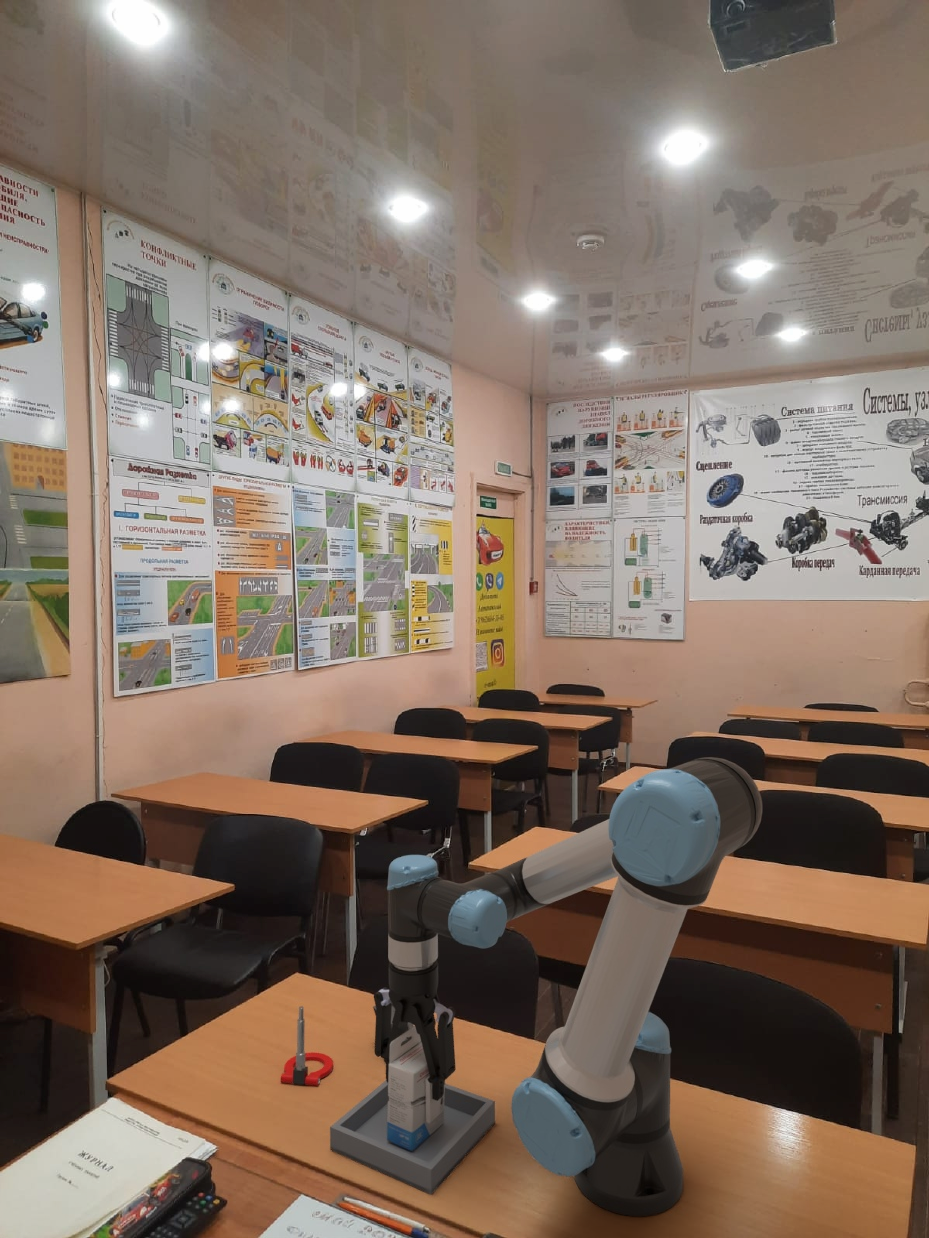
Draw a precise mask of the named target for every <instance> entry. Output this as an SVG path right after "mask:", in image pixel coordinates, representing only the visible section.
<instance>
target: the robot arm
mask: <svg viewBox="0 0 929 1238" xmlns="http://www.w3.org/2000/svg"><path fill="white" fill-rule="evenodd" d="M762 816H763V800H762V796H761V793H760V790H759V787H758V786H757V783H756V782H755V780H754V779H753V778H752V776H750V774H748V772H747V770H745V769H744V768H742V767H740V766H739V765H738V764H737V763H734V762H732V761H729V760H727V759H725V758H719V757H712V756H710V757H700V758H695V759H693V760H689V761H687V762H684V763H682V764H679V765H676V766H674V767H673V766H672V767H670V768H666V769H665V768H664V769H659V770H654V771H652V772H648V773H646V774H644V775H643V776H641V777H640V778H638V779H637V780H635V781H633V782H632V783H630V784H629V785H628V786H627V787H625V788H624V789H623V790H622V791H621V792H620V794H619V795H618V796H617V797H616V800H615V801H614V803H613V805H612V808H611V810H610V814H609V818H608V819H606V820H604V821H602V822H600V823H597V824H595V825H593V826H591V827H589V828H587V829H584V830H583V831H580V832H578V833H576V834H573V835H572V836H569V837H567V838H565V839H563V840H561V841H558V842H556V843H555V844H552V845H550V846H548V847H545V848H544V849H541V850H539V851H537V852H535V853H533V854H531V855H529V856H527V857H524V858H522V859H520V860H517V861H516V862H512V863H511V864H509V865H506V866H504V867H501V868H499V869H497V870H495V871H492V872H491V873H490V872H489V873H487V874H484V875H482V876H479V877H477V878H474V879H472V880H469V881H467V882H463V883H457V882H454V881H451V880H447V879H444V878H443V877H439V876H438V875H439V873H440V872H439V871H438V869H439V868H438V862H437V860H435V859H434V858H433V857H430V855H429V856H428V855H424V854H423V855H422V854H407V855H402V856H401V857H400V856H399V857H397V858H395V859H393V861H391V862H390V864H389V866H388V873H387V874H388V875H387V876H388V877H387V887H386V890H387V913H388V915H387V917H388V922H387V923H388V933H387V935H388V936H387V937H388V941H387V942H388V943H387V945H388V950H387V951H388V961H389V963H388V987H389V988H388V987H386V986H385V987H383V988H381V989H379V990H378V991H377V992H375V993H374V994H373V999H374V1000H373V1001H374V1006H375V1005H376V1015H375V1029H374V1031H375V1032H374V1033H375V1034H374V1051H373V1052H374V1055H375V1056H376V1057H377V1058H378V1057H381V1058H382V1059H383V1062H384V1064H385V1081H387V1083H388V1072H389V1055H390V1054H389V1053H390V1043H391V1042H392V1041H393V1040H395V1039H396V1038H398V1037H399V1036H400V1035H402V1034H403V1033H405V1032H406V1028H407V1025H408V1023H412V1024H413V1025H414V1026H415V1027H416V1031H417V1033H418V1034H419V1035H420V1038H421V1042H422V1046H423V1050H424V1054H425V1058H426V1062H427V1066H428V1070H429V1074H430V1075H429V1076H428V1077H427V1078H426V1079H425V1085H426V1122H427V1123H429V1124H430V1123H431V1122H432V1121H433V1120H434V1119H435V1118H436V1117H437V1116H438V1115H439V1114H440V1098H441V1097H442V1096H443V1094H444V1080H445V1081H446V1080H447V1079H448V1078H449V1077H450V1076H451V1075H452V1074H454V1073H455V1072H456V1055H455V1053H456V1052H455V1038H454V1037H455V1036H454V1035H455V1034H454V1020H455V1019H454V1018H455V1016H456V1015H455V1014H456V1009H455V1007H453V1006H449V1007H448V1008H447V1007H446V1006H444V1005H443V1004H441V1003H440V998H439V996H438V992H437V990H438V987H439V962H438V960H437V959H438V957H439V942H438V941H439V940H438V939H439V937H438V935H439V936H442V937H444V938H448V939H450V940H453V941H454V942H455V941H456V942H458V943H459V944H460V945H461V944H462V945H464V946H468V947H474V948H479V949H489V948H491V947H493V946H494V945H496V943H497V942H498V939H499V938H501V937H502V936H503V934H504V932H505V930H506V926H507V923H508V922H510V921H513V920H515V919H517V918H519V917H522V916H523V915H526V914H528V913H531V912H533V911H536V910H538V909H540V908H543V907H546V906H548V905H549V904H553V903H555V902H556V901H557V902H558V901H559V900H562V899H565V898H567V897H569V896H572V895H575V894H578V893H579V892H582V891H584V890H588V889H589V888H591V887H594V886H597V885H600V884H602V883H605V882H607V881H609V880H612V879H615V878H617V880H616V883H615V885H614V888H613V891H612V893H611V897H610V899H609V903H608V905H607V908H606V911H605V914H604V917H603V919H602V921H601V925H600V928H599V930H598V932H597V936H596V939H595V941H594V944H593V947H592V950H591V953H590V955H589V958H588V961H587V965H586V966H585V969H584V972H583V975H582V978H581V981H580V984H579V986H578V988H577V989H578V990H577V991H576V994H575V997H574V1000H573V1004H572V1006H571V1008H570V1010H569V1014H568V1017H567V1019H566V1023H565V1025H564V1026H561V1027H558V1028H556V1029H555V1030H553V1031H552V1032H551V1033H550V1034H549V1035H548V1038H547V1040H546V1042H545V1044H544V1048H543V1050H542V1053H541V1057H540V1058H539V1059H540V1060H539V1062H538V1064H537V1067H536V1069H535V1070H534V1072H533V1073H532V1074H531V1076H529V1077H526V1078H524V1079H523V1080H521V1082H520V1084H519V1085H518V1086H517V1087H516V1088H515V1090H514V1092H513V1095H512V1097H511V1104H510V1105H511V1106H510V1107H511V1110H510V1111H511V1117H512V1122H513V1124H514V1128H515V1129H516V1131H517V1134H518V1137H519V1139H520V1141H521V1143H522V1145H523V1146H524V1148H525V1149H526V1151H527V1152H528V1153H529V1154H530V1156H531V1157H532V1158H533V1159H534V1160H535V1161H536V1162H537V1163H538V1164H539V1165H540V1166H541V1167H542V1168H544V1169H545V1170H547V1171H548V1172H550V1173H552V1174H554V1175H557V1176H565V1177H574V1181H575V1183H576V1185H577V1187H578V1189H579V1190H580V1192H581V1193H582V1194H583V1195H584V1196H585V1197H586V1198H587V1199H589V1200H590V1201H591V1202H592V1203H594V1204H595V1205H596V1206H598V1207H600V1208H603V1209H605V1210H607V1211H608V1212H612V1213H615V1214H617V1215H622V1216H630V1217H647V1216H654V1215H658V1214H660V1213H664V1212H665V1211H667V1210H669V1209H671V1208H672V1207H673V1206H674V1205H675V1204H677V1202H679V1199H680V1198H681V1197H682V1195H683V1192H684V1191H683V1190H684V1170H683V1164H682V1163H683V1162H682V1160H681V1156H680V1153H679V1150H678V1148H677V1145H676V1142H675V1138H674V1136H673V1133H672V1130H671V1117H670V1116H671V1053H672V1047H671V1044H670V1041H671V1040H670V1031H669V1028H668V1026H667V1025H666V1023H665V1022H664V1021H663V1020H662V1019H661V1018H660V1017H659V1016H657V1015H656V1014H654V1013H652V1012H651V1011H650V1008H651V1005H652V1003H653V1000H654V999H655V998H654V997H655V995H656V992H657V990H658V988H659V985H660V982H661V979H662V977H663V974H664V972H665V968H666V966H667V963H668V961H669V958H670V956H671V954H672V951H673V948H674V946H675V942H676V941H677V937H678V935H679V932H680V930H681V927H682V925H683V922H684V920H685V917H686V914H687V912H688V910H689V909H693V908H697V907H699V906H701V905H703V904H704V903H706V901H707V898H708V896H709V895H710V892H711V889H712V886H713V884H714V881H715V878H716V876H717V874H718V871H719V869H720V866H721V864H722V862H723V860H724V858H725V857H727V856H728V855H730V854H732V853H734V852H735V851H737V850H739V849H740V848H741V847H743V846H745V845H746V844H747V843H748V842H750V841H751V839H753V837H754V835H755V834H756V832H757V831H758V828H759V827H760V824H761V821H762ZM391 1002H392V1003H391ZM392 1004H393V1006H394V1008H395V1013H394V1017H393V1021H392V1023H393V1026H392V1030H391V1011H392ZM435 1015H436V1017H435ZM436 1024H437V1027H436ZM436 1028H437V1030H436ZM390 1033H391V1034H390ZM402 1043H403V1042H402ZM402 1043H401V1046H402Z"/></svg>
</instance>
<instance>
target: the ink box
mask: <svg viewBox="0 0 929 1238" xmlns="http://www.w3.org/2000/svg"><path fill="white" fill-rule="evenodd" d="M410 1036H412V1038H411V1040H410V1041H408V1042H407V1043H405V1044H404V1045H402V1046H401V1043H402V1042H403V1041H405V1039H406V1037H408V1038H409V1037H410ZM389 1054H390V1055H389V1072H388V1116H387V1140H388V1141H390V1142H393V1143H395V1144H397V1145H399V1146H401V1147H403V1148H406V1149H408V1150H410V1151H413V1150H414V1149H415V1148H416V1147H417V1146H419V1145H420V1144H421V1143H422V1142H423V1141H424V1140H425V1139H426V1138H428V1137H429V1136H430V1135H431V1134H432V1133H433V1132H434V1131H435V1130H437V1129H438V1128H439V1127H440V1126H441V1125H442V1124H443V1123H444V1098H445V1084H446V1080H444V1094H443V1096H442V1097H441V1098H440V1114H439V1115H438V1116H437V1117H436V1118H435V1119H434V1120H433V1121H432V1122H431V1123H430V1124H429V1123H427V1122H426V1085H425V1079H426V1078H427V1077H428V1076H429V1075H430V1074H429V1070H428V1066H427V1062H426V1058H425V1054H424V1050H423V1046H422V1042H421V1038H420V1035H419V1034H418V1033H417V1031H416V1027H415V1025H414V1027H412V1028H411V1029H409V1030H408V1031H406V1032H405V1033H403V1034H402V1035H400V1036H399V1037H398V1038H396V1039H395V1040H393V1041H392V1042H391V1043H390V1053H389Z"/></svg>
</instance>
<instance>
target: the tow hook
mask: <svg viewBox="0 0 929 1238" xmlns="http://www.w3.org/2000/svg"><path fill="white" fill-rule="evenodd" d="M296 1034H297V1035H296V1038H297V1039H296V1042H297V1043H296V1044H297V1045H296V1047H297V1050H296V1052H295V1055H294V1056H293V1057H291V1058H289V1059H288V1060H286V1062H285V1064H284V1067H283V1070H284V1071H283V1072H282V1074H281V1075H280V1082H281V1083H285V1084H293V1085H296V1084H297V1085H299V1086H318V1085H319V1086H320V1083H321V1079H323V1078H325V1077H327V1076H329V1075H330V1074H331V1072H332V1071H333V1070H334V1061H333V1058H331V1056H329V1055H327V1054H325V1053H322V1052H321V1053H320V1052H305V1018H304V1006H303V1005H302V1006H299V1007H298V1019H297V1033H296ZM309 1061H314V1062H319V1063H322V1065H323V1066H322V1067H321V1068H320V1069H318V1070H315V1071H312V1072H310V1073H309V1066H306V1062H309Z"/></svg>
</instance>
